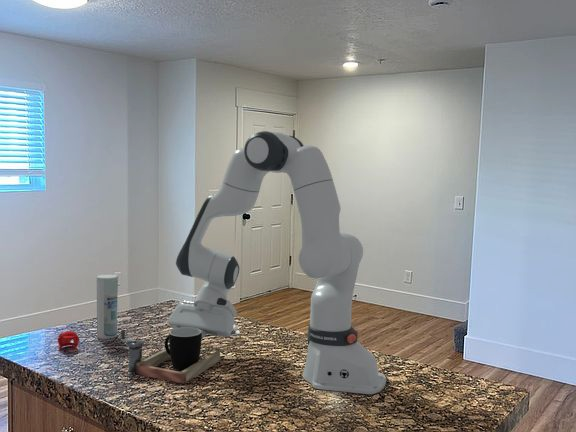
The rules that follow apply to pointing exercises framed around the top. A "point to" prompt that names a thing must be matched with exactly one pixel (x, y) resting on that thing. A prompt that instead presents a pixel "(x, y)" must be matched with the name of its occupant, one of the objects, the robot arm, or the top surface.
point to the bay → (149, 369)
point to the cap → (68, 339)
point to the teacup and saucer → (235, 330)
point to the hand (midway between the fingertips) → (191, 344)
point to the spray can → (107, 306)
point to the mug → (184, 347)
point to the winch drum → (133, 351)
